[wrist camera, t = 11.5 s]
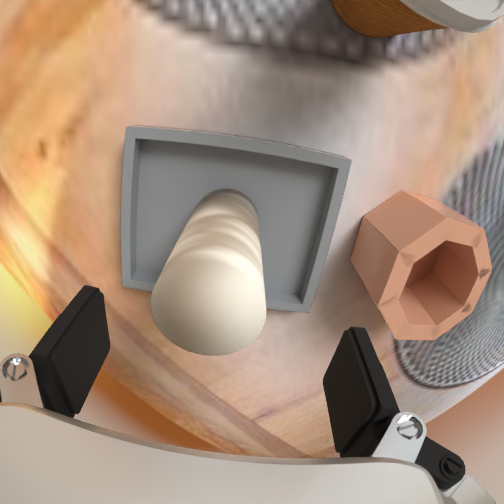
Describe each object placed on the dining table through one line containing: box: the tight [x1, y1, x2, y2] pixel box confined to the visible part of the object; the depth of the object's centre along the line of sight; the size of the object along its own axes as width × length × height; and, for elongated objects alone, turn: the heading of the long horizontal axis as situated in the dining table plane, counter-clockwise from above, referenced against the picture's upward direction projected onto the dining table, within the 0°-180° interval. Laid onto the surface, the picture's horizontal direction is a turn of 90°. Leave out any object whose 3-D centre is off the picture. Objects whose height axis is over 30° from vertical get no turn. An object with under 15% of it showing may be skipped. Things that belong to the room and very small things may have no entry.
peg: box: [150, 189, 266, 355], centre depth 18 cm, size 5×5×12 cm
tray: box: [121, 125, 352, 313], centre depth 23 cm, size 16×13×2 cm
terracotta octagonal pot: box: [350, 190, 492, 340], centre depth 22 cm, size 10×10×7 cm
